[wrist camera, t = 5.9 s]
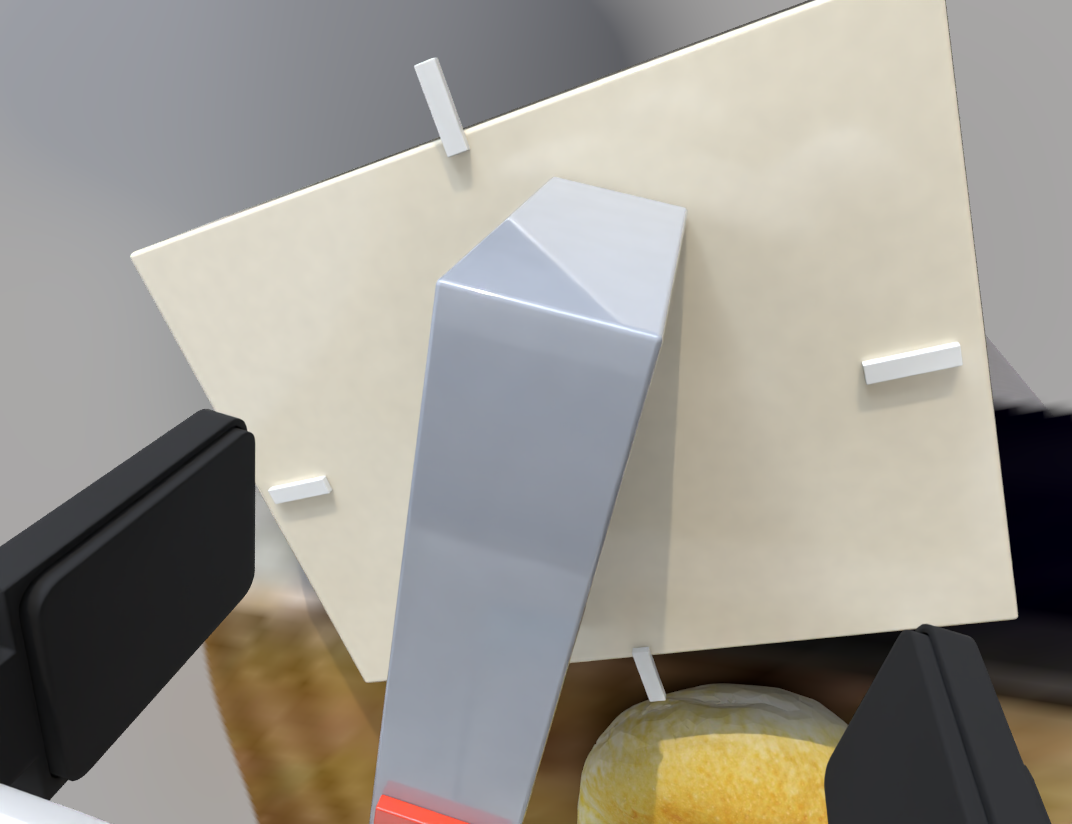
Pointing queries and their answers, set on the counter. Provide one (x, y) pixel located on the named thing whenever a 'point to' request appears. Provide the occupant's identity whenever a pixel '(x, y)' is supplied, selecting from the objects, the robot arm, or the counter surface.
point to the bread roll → (712, 759)
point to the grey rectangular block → (516, 490)
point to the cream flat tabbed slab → (688, 346)
